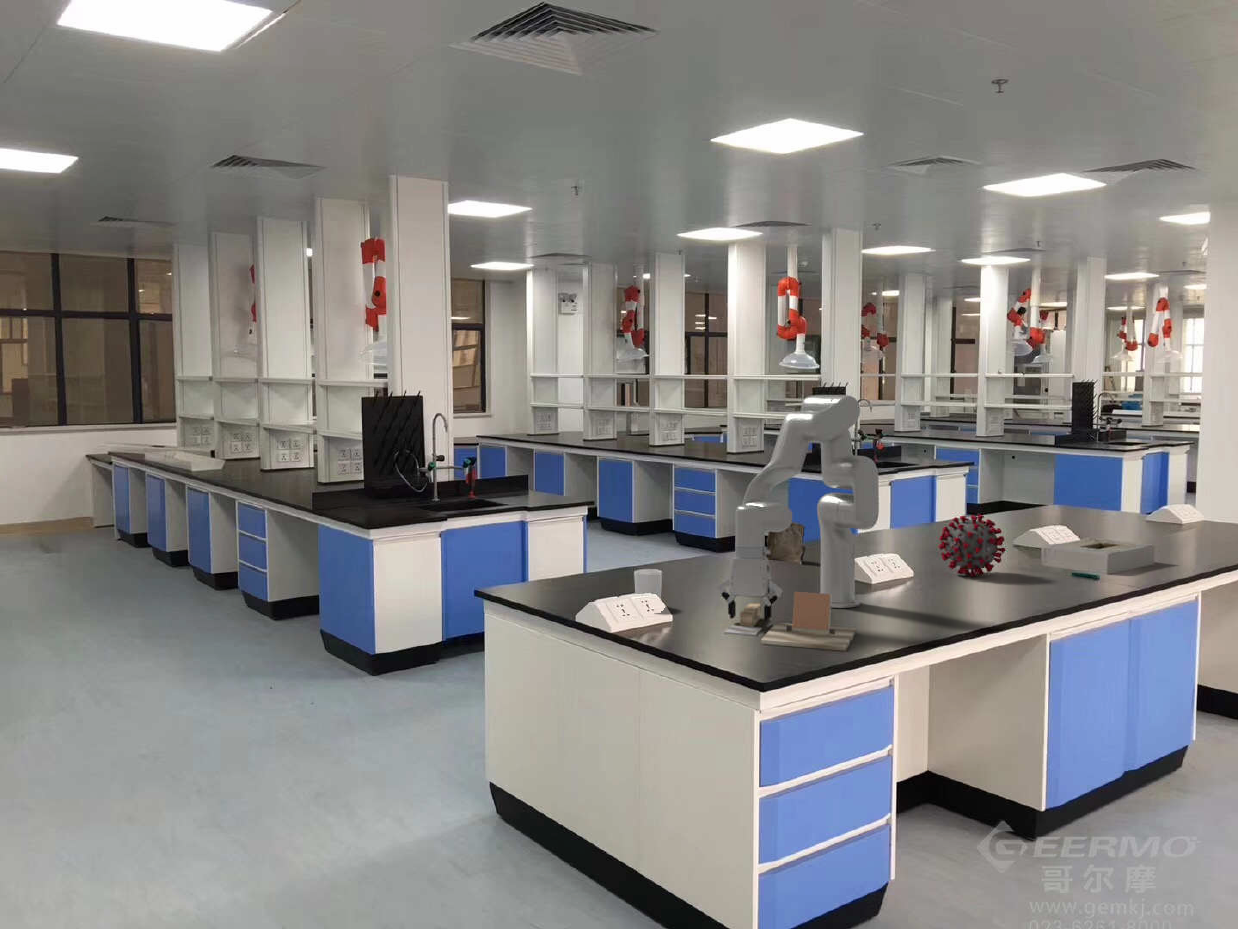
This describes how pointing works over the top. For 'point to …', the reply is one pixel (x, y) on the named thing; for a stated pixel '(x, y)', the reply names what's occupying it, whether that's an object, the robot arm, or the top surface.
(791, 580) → the top surface
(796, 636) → the board
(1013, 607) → the top surface
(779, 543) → the mineral sample
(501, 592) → the top surface
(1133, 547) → the box
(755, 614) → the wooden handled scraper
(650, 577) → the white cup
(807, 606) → the tile
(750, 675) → the top surface
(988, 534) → the virus model
